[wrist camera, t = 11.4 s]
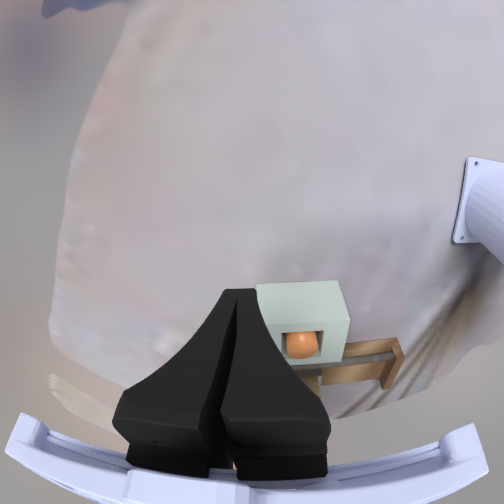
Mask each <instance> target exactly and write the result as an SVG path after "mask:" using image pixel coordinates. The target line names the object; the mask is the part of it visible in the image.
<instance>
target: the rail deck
mask: <svg viewBox="0 0 504 504" xmlns="http://www.w3.org/2000/svg"><path fill="white" fill-rule="evenodd" d="M404 358H405V357H404V355H403V352H402V350H401V347H400V345H399V342H398V340H397V338H390V339H382V340H374V341H366V342H357V343H347V344H345V347H344V351H343V355H342V359H341V361H340V362H330V363H318V364H304V365H290V366H291V367H292V369H293V370H309V369H321V371H322V380H321V385H330V384H339V383H348V382H356V381H364V380H371V379H377V378H379V381H380V384H381V388H382V390H384V389H390V387H391V385H392V383H393V381H394V379H395V377H396V375H397V373H398V371H399V369H400V367H401V365H402V362H403V360H404Z"/></svg>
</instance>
